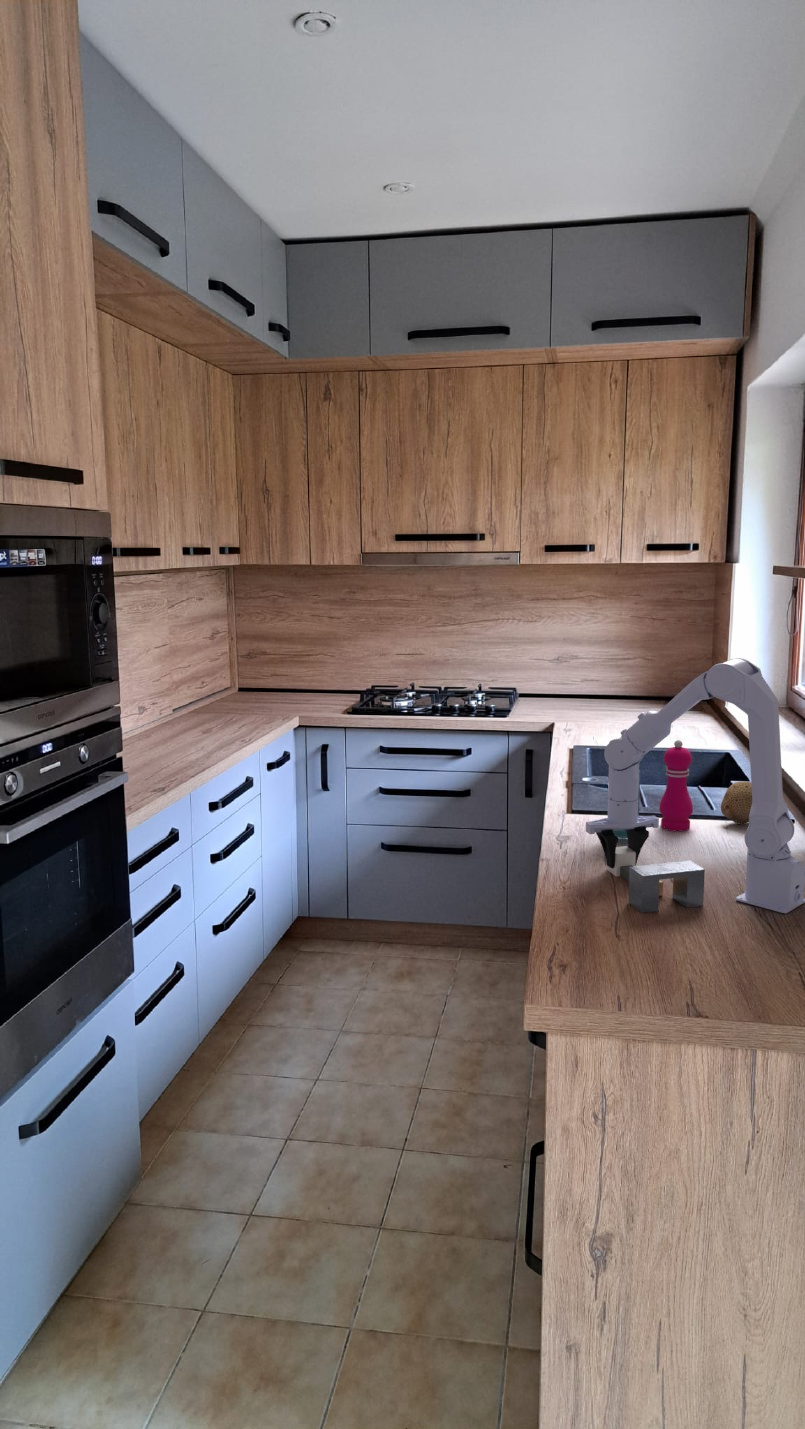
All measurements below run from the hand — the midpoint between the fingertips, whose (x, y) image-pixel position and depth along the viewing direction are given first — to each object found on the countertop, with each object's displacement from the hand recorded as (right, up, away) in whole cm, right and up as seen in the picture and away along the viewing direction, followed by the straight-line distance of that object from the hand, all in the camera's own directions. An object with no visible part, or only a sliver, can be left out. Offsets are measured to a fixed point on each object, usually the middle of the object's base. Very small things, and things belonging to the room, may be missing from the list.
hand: (621, 865), depth 192 cm
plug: (+1, -2, -5) cm, 6 cm away
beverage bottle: (+5, +2, +20) cm, 20 cm away
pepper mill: (+18, +4, +28) cm, 34 cm away
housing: (+4, -4, -16) cm, 18 cm away
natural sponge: (+34, +4, +29) cm, 45 cm away
